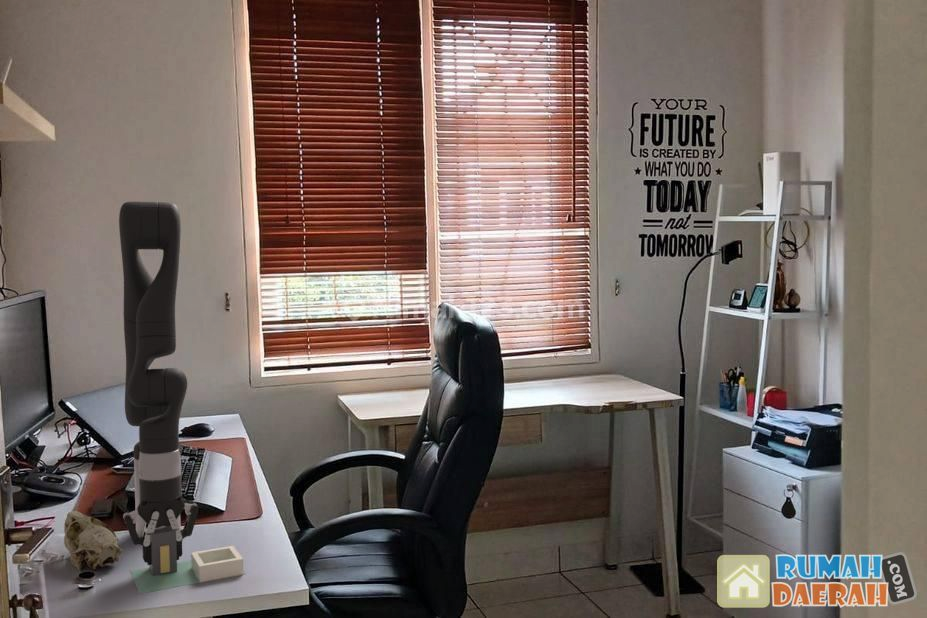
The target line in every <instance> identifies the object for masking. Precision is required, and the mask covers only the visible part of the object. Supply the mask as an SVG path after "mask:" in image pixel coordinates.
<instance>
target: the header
mask: <svg viewBox="0 0 927 618" xmlns="http://www.w3.org/2000/svg"><path fill="white" fill-rule="evenodd" d="M190 558H191V560H190V561H191V567H192V570H193V571H194V573H195V575H196V577H197V578H198V580H199V582H200V583H205V582H204V581H206V582H211V581H215V579H217V580H221V578H222V579H227V578H226V577H228V578H232V576H233V577H238V576H243V575H242V574H243V570H244V557H242V556H241V554H240V553H239V551H238V550H237V548H236V547H235V546H234V545H230V546H223V547H222V546H221V547H218V548H212V549H205V550H204V549H203V550H199V551H192V552H191V553H190ZM237 575H238V576H237ZM210 580H211V581H210Z"/></svg>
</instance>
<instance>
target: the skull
mask: <svg viewBox="0 0 927 618" xmlns="http://www.w3.org/2000/svg"><path fill="white" fill-rule="evenodd" d="M63 529H64V539H63V544H64V546H65V548H66V549H67V551H68V552H69V553H70V556H69V560H70V563H71V564H72V565H73V566H74V567H75V568H77V571H78V572H83V571H82V568H83V566H85V564H86V565H87V566H88V567H89V568H92V569H93V570H96V568H97V567H98V566H99V567H101V568H103V567H106V566H107V565H113V564H114V563H116V562H117V563H118V562H119V556H120V555H121V554H122V552H123V551H124V550H123V549H122V548H120V547H119V546H118V541H119V538H118V536H117V535H116V533H115V532H114V530H113V529H112V527H111V526H109V525H107V524H106V523H104V522H103V521H101V520H100V519H97V518H95V517H93V516H88V515H86V514H83V512H80V511H76V510H72V511H69V512H67V514H66V517H65V519H64V525H63Z"/></svg>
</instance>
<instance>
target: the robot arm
mask: <svg viewBox="0 0 927 618" xmlns="http://www.w3.org/2000/svg"><path fill="white" fill-rule="evenodd" d="M118 217H119V218H118V225H119V226H118V228H119V240H120V241H119V242H120V250H121V261H122V273H123V333H124V334H123V336H124V347H125V348H124V349H125V382H124V383H125V384H124V386H125V387H124V388H125V389H124V414H125V418H126V421H127V423H128V424H129V425H130V426H131V427H138V442H137V443H135V445H134V446H133V471H134V476H133V477H134V501H135V505H134V506H135V510H132V511H130V512H128V511H126V512H124V513H122V517H123V521H124V523H125V526H126V528H127V530H128V533H129V536H130V539H131V540H132V543H133V545H135V546H137V545H139V546H142V559H143V561H144V563H145V564H147V566H149V565H151V564H152V563H151V545H150V542H151V533H154V530H155V528H158V527H161V526H171V528H172V530H176V549H177V561H180V557H182V555H183V541H184V540H183V539H185V538H187V537H191V536H192V534H193V531H194V527H195V525H196V520H197V517H198V514H199V509H200V507H199V506H198V504H197V503H196V502H191V503H187V502H184V500H183V497H182V496H183V495H182V469H183V468H182V462H181V461H182V460H181V453H180V440H179V435H180V434H179V433H180V431H179V430H180V429H179V428H180V427H179V425H180V417H181V412H182V409H183V404H184V401H185V398H186V394H187V389H188V380H187V379H188V378H187V376H186V374H185V372H184V371H183V370H182V369H180V368H177V367H168V368H167V367H166V368H165V367H164V368H150V369H149V367H150V366H151V365H152V363H153V362H154V361H155V360H156V359H159V358H162V357H167V356H171V355H172V354H174V353H175V351H176V348H177V344H176V343H177V339H176V338H177V337H176V336H177V335H176V334H177V333H176V331H177V330H176V298H177V287H178V277H179V266H180V251H181V250H180V249H181V233H182V231H181V230H182V229H181V215H180V211H179V208H178V206H177V205H176V204H175V203H174V202H167V201H158V202H157V201H125V202H124V203H123V204H122V205H121V207H120V209H119V213H118ZM139 250H162V251H163V253H162V261H161V264H160V266H159V270H158V271H157V273H156V276H155V277H154V278H153V276H152V275H151V274H150V273H149V271H148V270H147V268H146V266H145V264H144V261H143V259H142V258H141V254H140V252H139ZM183 510H184V512H185V514H186V517H185V519H186V520H185V521H184V522H185V523H184V524H183V525H184V526H183V529H181V527H182V525H181V514H182V512H183ZM134 524H135V525H134Z"/></svg>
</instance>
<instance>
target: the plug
mask: <svg viewBox="0 0 927 618" xmlns="http://www.w3.org/2000/svg"><path fill="white" fill-rule="evenodd" d="M150 545H151V563H152V564H151V565H148V568H149V569H150V571H151V573H152V576H156V575H162V574H168V573H173V572H177V563H178V560H177V549H176V530H172V528H171V526H161V527H158V528H155V530H154V533H151V542H150Z"/></svg>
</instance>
